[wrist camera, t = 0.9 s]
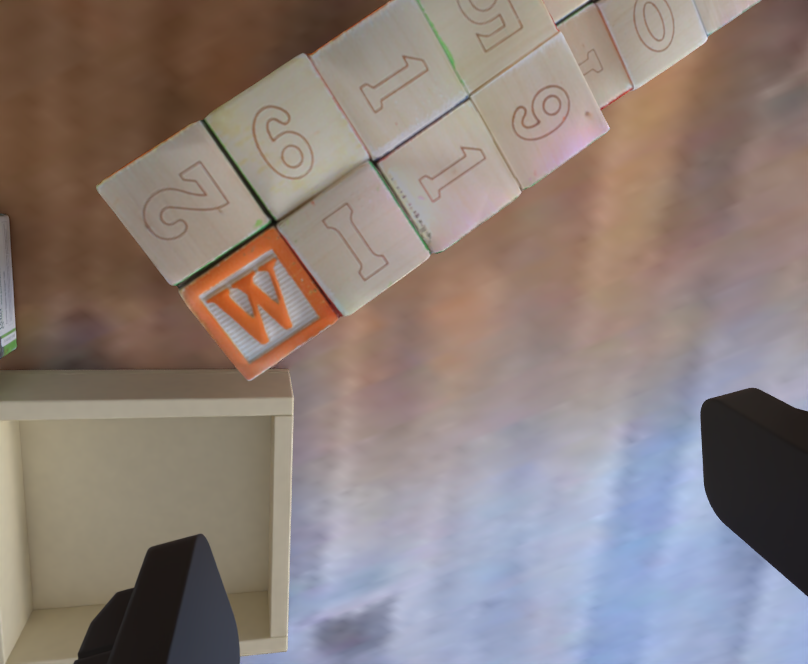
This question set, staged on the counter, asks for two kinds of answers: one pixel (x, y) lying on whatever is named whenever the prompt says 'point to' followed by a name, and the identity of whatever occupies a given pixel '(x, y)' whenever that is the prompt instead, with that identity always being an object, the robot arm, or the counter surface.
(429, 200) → the stack of blocks
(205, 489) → the wooden tray
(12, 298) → the syrup box
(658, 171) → the counter surface
